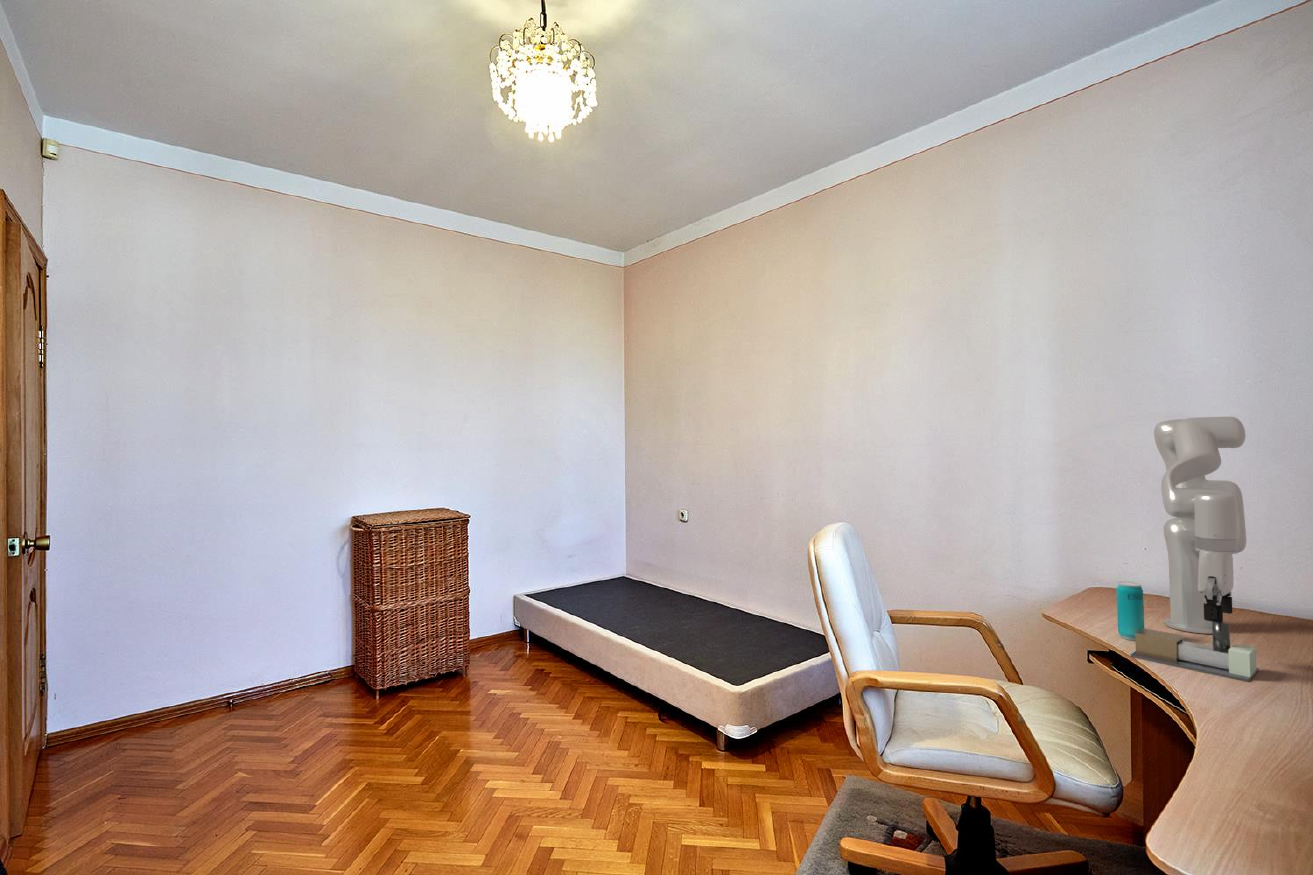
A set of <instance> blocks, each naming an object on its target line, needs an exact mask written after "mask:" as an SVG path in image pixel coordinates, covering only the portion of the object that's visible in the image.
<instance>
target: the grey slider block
mask: <svg viewBox="0 0 1313 875" xmlns="http://www.w3.org/2000/svg"><path fill="white" fill-rule="evenodd" d="M1230 630H1231V628H1230V623H1229V622H1227V621H1223V622H1222V623H1218V622H1212V633H1213V634H1212V645H1206V644H1200V643H1196V642H1192V641H1185V640H1183V641H1179V642H1177V659H1180V660H1185V661H1190V662H1195V663H1200V664H1205V665H1209V666H1214V667H1219V668H1224V669H1229V654H1228V650H1229V649H1230V648H1231V635H1230V633H1231V631H1230Z"/></svg>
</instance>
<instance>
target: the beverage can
mask: <svg viewBox="0 0 1313 875" xmlns="http://www.w3.org/2000/svg"><path fill="white" fill-rule="evenodd" d="M1144 604H1145V603H1144V590H1143V588H1142V584H1141V583H1138V582H1135V581H1134V582H1133V581H1117V586H1116V612H1117V615H1116V616H1117V631H1118V634H1119V636H1120V637H1121V639H1123V640H1127V641H1133V642H1134V641H1135V633H1136V632H1138V631H1139V630H1141V629H1143V628H1145V614H1144V611H1145V609H1144ZM1135 642H1136V641H1135Z"/></svg>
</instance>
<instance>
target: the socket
mask: <svg viewBox="0 0 1313 875" xmlns="http://www.w3.org/2000/svg"><path fill="white" fill-rule="evenodd" d="M1228 654H1229V673H1233V674H1237V675H1242V676H1247V677H1251V676H1252V675H1253V673H1254V672H1255V671H1256V670H1257V668H1258V667H1257V647H1256V646H1252V645H1247V644H1241V643H1234V644H1233V645H1232V646H1230V649H1229V650H1228Z"/></svg>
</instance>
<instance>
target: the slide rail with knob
mask: <svg viewBox="0 0 1313 875" xmlns="http://www.w3.org/2000/svg"><path fill="white" fill-rule="evenodd" d="M1179 641H1184V635H1183V634H1176V633H1173V632H1166V631H1161V630H1156V629H1150V628H1145V627H1144V628H1143V629H1141V630H1139V631H1138V632H1136V633H1135V651H1134V652H1131V654H1130V658H1134V659H1138V660H1144V661H1148V662H1153V663H1158V664H1163V665H1167V666H1172V667H1177V668H1180V669H1186V670H1192V671H1196V672H1199V673H1204V674H1209V675H1214V676H1219V677H1224V678H1228V679H1233V680H1237V681H1242V682H1247V683H1249V682H1250V681H1251V680H1252V679H1253V677H1254V676H1255V675H1256V674H1257V672H1259V667H1257V670H1256V671H1255V672H1254V673H1253V675H1252V676H1251V677H1247V676H1242V675H1237V674H1233V673H1229V669H1224V668H1219V667H1214V666H1209V665H1205V664H1200V663H1195V662H1190V661H1185V660H1180V659H1177V642H1179Z"/></svg>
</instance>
